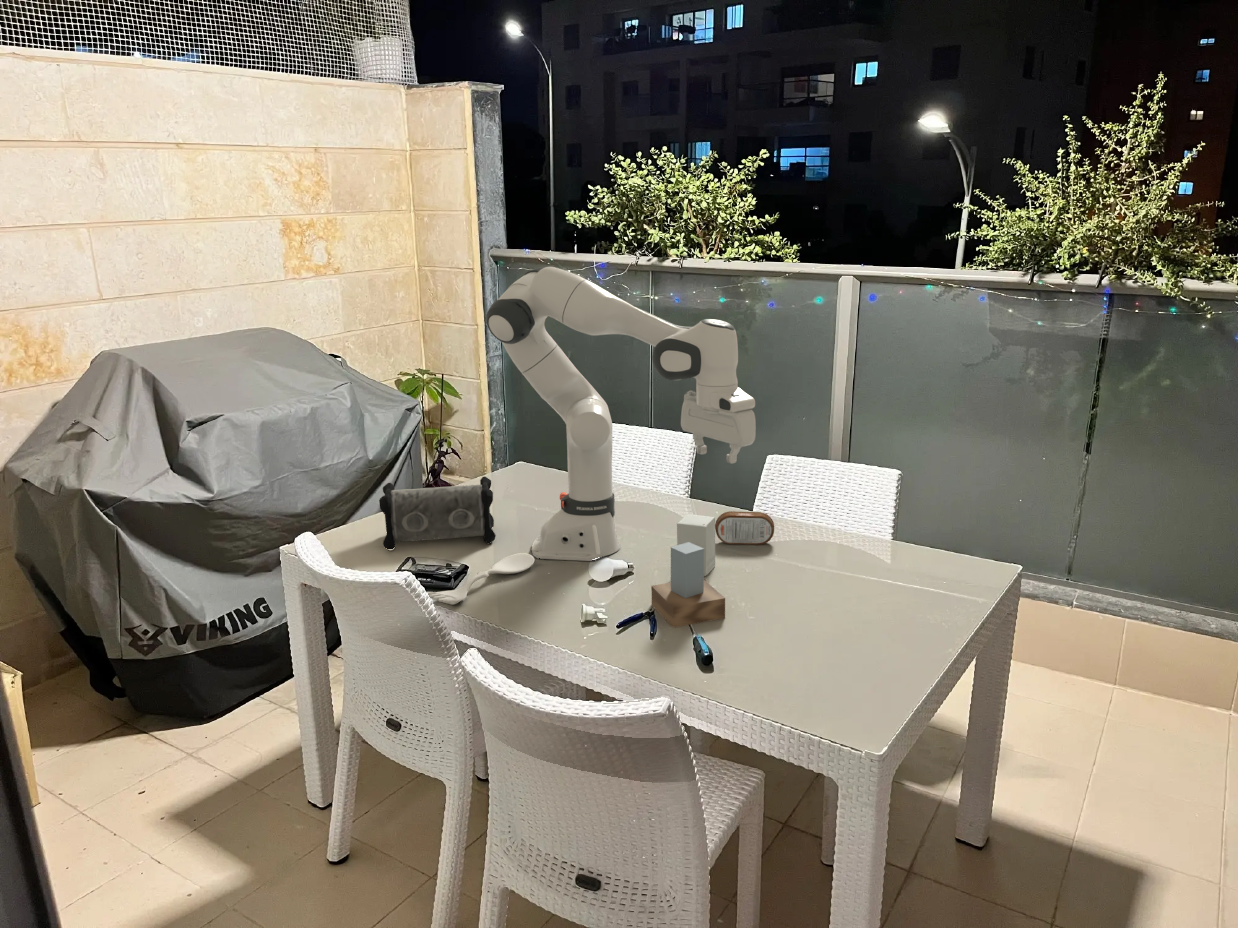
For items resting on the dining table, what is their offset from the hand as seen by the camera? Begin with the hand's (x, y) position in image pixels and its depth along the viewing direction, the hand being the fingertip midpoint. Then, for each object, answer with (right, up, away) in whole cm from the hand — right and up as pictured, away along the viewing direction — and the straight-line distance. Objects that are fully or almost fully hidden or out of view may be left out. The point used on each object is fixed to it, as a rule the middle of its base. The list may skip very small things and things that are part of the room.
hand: (716, 457), depth 208 cm
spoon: (-53, -30, +14) cm, 62 cm away
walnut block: (-6, -34, -2) cm, 34 cm away
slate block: (-7, -29, -3) cm, 30 cm away
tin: (+11, -22, +36) cm, 44 cm away
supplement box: (-3, -27, +20) cm, 34 cm away
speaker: (-68, -22, +43) cm, 84 cm away
